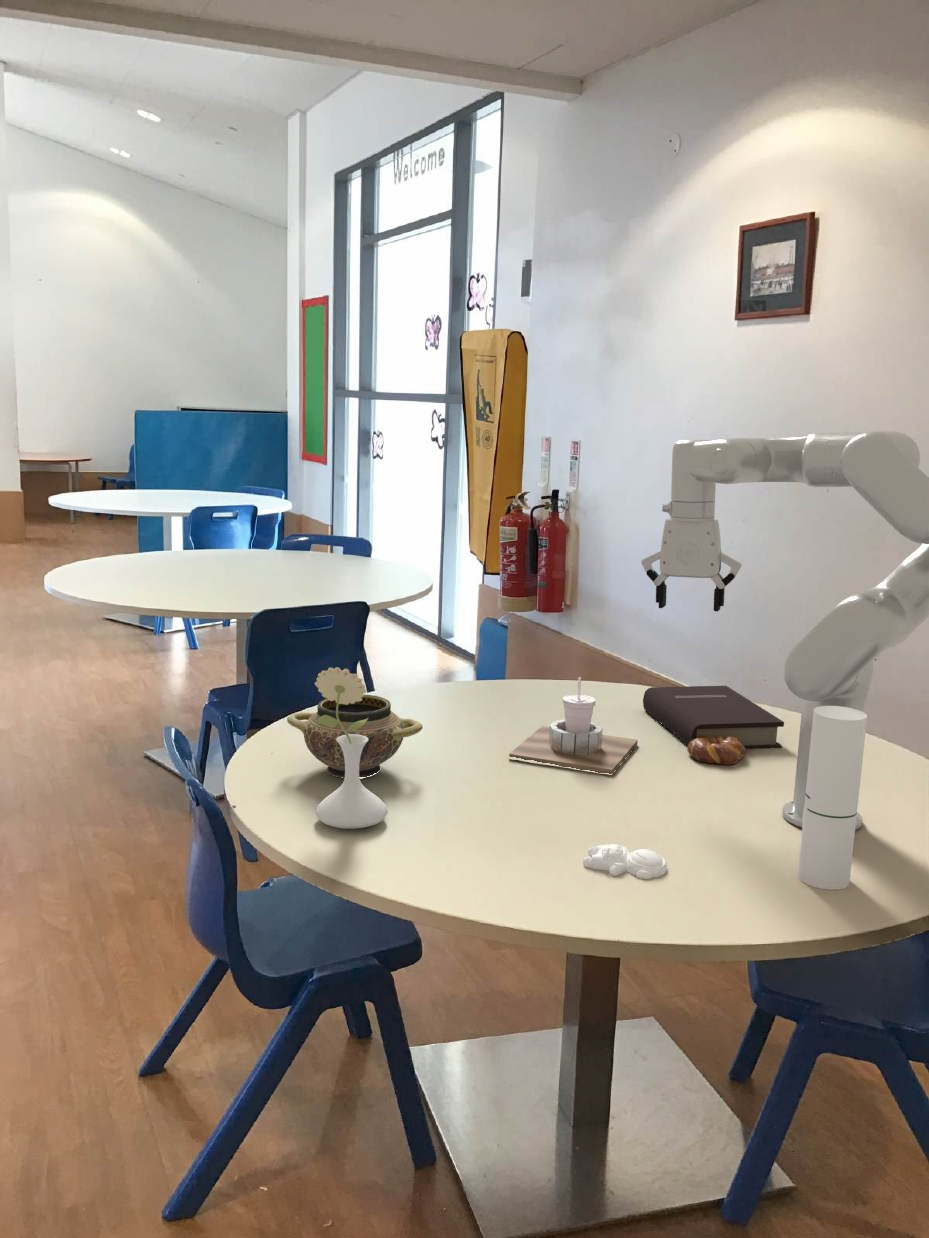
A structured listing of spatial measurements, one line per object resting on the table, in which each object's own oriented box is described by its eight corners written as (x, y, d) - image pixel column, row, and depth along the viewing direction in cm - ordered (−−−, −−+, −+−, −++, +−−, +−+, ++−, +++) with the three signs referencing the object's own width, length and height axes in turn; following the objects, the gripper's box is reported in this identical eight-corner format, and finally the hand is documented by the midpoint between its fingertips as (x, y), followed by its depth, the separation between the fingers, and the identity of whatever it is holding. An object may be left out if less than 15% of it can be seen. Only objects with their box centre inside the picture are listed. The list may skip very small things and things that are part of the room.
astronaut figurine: (593, 848, 165) (594, 830, 164) (671, 863, 161) (672, 844, 160) (577, 871, 157) (579, 852, 156) (659, 886, 153) (661, 867, 152)
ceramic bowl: (427, 779, 200) (433, 698, 201) (407, 788, 182) (413, 700, 183) (300, 768, 204) (306, 689, 205) (269, 776, 186) (275, 690, 187)
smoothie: (557, 749, 207) (560, 679, 204) (563, 740, 213) (567, 671, 210) (589, 753, 205) (593, 682, 202) (595, 743, 211) (599, 674, 208)
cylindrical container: (838, 868, 159) (855, 706, 155) (857, 889, 152) (875, 720, 148) (790, 867, 159) (806, 705, 154) (807, 889, 152) (824, 719, 147)
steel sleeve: (592, 757, 203) (594, 737, 202) (542, 750, 206) (543, 730, 206) (606, 743, 212) (607, 723, 211) (558, 736, 215) (559, 716, 215)
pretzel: (714, 744, 217) (715, 726, 216) (758, 759, 209) (760, 741, 208) (674, 754, 210) (675, 736, 209) (718, 770, 201) (720, 751, 201)
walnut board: (611, 776, 196) (612, 769, 196) (508, 759, 204) (509, 753, 204) (637, 745, 215) (637, 739, 214) (542, 731, 222) (542, 725, 222)
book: (642, 712, 240) (643, 687, 238) (724, 710, 243) (726, 685, 242) (690, 753, 213) (692, 724, 211) (781, 750, 216) (784, 721, 215)
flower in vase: (401, 818, 174) (403, 668, 169) (359, 841, 164) (361, 683, 159) (336, 801, 180) (337, 656, 175) (292, 822, 171) (292, 670, 166)
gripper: (638, 511, 187) (636, 609, 190) (740, 514, 180) (736, 615, 183) (648, 509, 194) (645, 602, 196) (746, 511, 187) (742, 608, 190)
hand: (689, 608), depth 190 cm, fingers open, 9 cm apart
